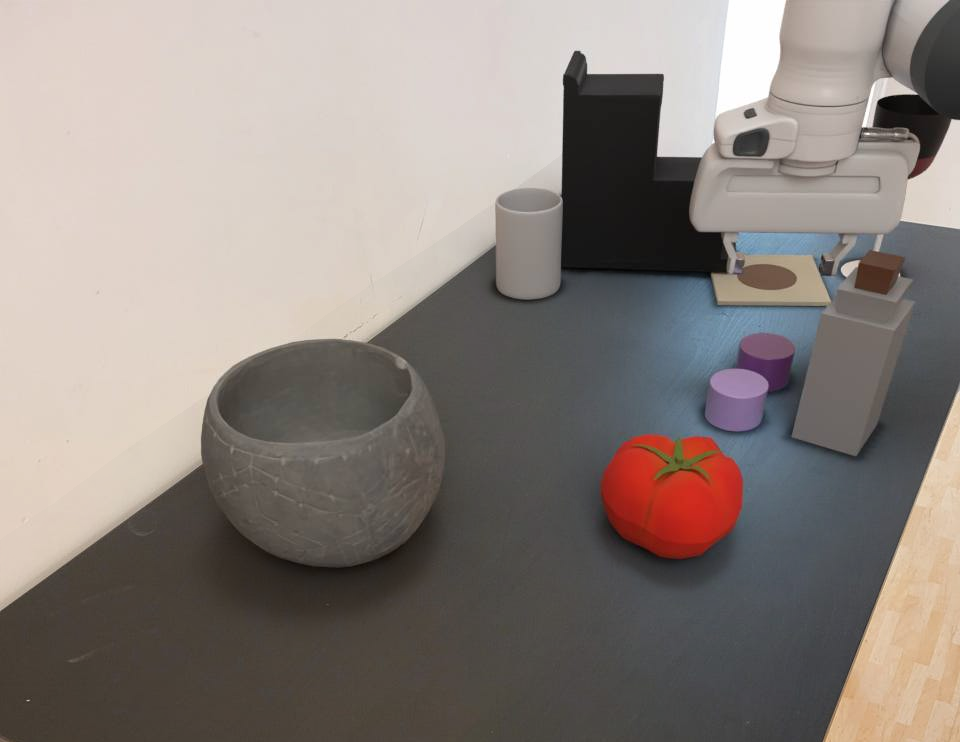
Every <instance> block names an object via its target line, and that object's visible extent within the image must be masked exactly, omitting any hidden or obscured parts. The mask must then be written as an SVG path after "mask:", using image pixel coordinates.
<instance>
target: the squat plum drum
mask: <svg viewBox="0 0 960 742" xmlns="http://www.w3.org/2000/svg"><path fill="white" fill-rule="evenodd" d="M796 350H797V349H796V345H795V343H794V342H793V341H792V340H791V339H789V338H787V337H785V336H782V335H781V334H780V335H779V334H776V333H768V332H759V333H758V332H757V333H752V334H748V335H746V336H744V337H743V338H742V339H741V340H740V342H739V344H738V349H737V351H738V352H737V356H736V362H735V366H734V369H745V370H750V371H753V372H756V373H758V374H760V375H762V376H763V377H764V378H765V379H766V380H767V381H768V384H769V388H768V393H772V392H777V391H780V390H782V389H784V388H786V386H787V385H788V383H789V381H790V376H791V371H792V368H793V364H794V363H793V362H794V358H795V354H796Z"/></svg>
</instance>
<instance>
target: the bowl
mask: <svg viewBox="0 0 960 742" xmlns="http://www.w3.org/2000/svg"><path fill="white" fill-rule="evenodd" d="M446 448H447V447H446V442H445V437H444V432H443V428H442V424H441V420H440V417H439V413H438V409H437V407H436V405H435V403H434V401H433V398H432V396H431V392H430V391H429V389H428V387H427V385H426V384H425V382H424V380H423V378H422V377H421V375H420V374H419V373H418V371H417V370H416V368H414V367H413V366H412V365H411V364H410V363H409V362H408V361H407V360H405V359H404V358H403V357H401V356H400V355H399V354H397V353H395V352H393V351H391V350H389V349H387V348H385V347H382V346H379V345H376V344H373V343H368V342H362V341H358V340H351V339H343V338H342V339H341V338H317V339H316V338H315V339H305V340H297V341H292V342H288V343H284V344H281V345H277V346H274V347H270V348H268V349H267V348H266V349H265V350H262V351H260V352H257V353H255V354H252V355H249V356H248V357H246V358H244V359H241V360H240V361H238V362H237V363H235V364H233V365H232V366H231V367H230V368H229V369H228V370H227V371H225V372H224V373H223V374H222V375H221V376H220V377H219V378H218V380H217V381H216V383H214V385H213V387H212V389H211V391H210V393H209V395H208V397H207V400H206V403H205V408H204V412H203V418H202V424H201V434H200V455H201V462H202V467H203V472H204V475H205V479H206V482H207V485H208V487H209V489H210V491H211V494H212V496H213V498H214V500H215V502H216V504H217V505H218V506H219V508H220V510H221V511H222V512H223V514H224V515H225V517H226V518H227V520H228V521H229V522H230V524H232V526H234V528H235V529H236V530H237V531H238V532H239V533H240V534H241V535H242V536H243V537H245V538H246V539H247V540H249V541H250V542H251V543H252V544H254V546H257V547H258V548H260V549H262V550H263V551H265V552H266V553H268V554H270V555H272V556H275V557H278V558H280V559H283V560H287V561H290V562H293V563H297V564H300V565H304V566H310V567H318V568H321V567H322V568H338V569H339V568H348V567H349V568H350V567H355V566H359V565H362V564H366V563H370V562H373V561H375V560H379V559H380V558H382V557H384V556H387V555H389V554H391V553H392V552H394V551H396V550H397V549H398V548H399V547H400V546H402V545H404V544H405V543H406V542H407V541H409V539H410V538H411V537H412V536H413V534H415V533H416V532H417V530H418V529H419V527H420V525H421V524H422V523H423V522H424V520H425V519H426V517H427V516H428V513H429V512H430V510H431V509H432V506H433V505H434V503H435V501H436V498H437V497H438V494H439V492H440V488H441V484H442V481H443V477H444V475H443V473H444V470H445V462H446V450H447V449H446Z"/></svg>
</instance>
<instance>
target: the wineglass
mask: <svg viewBox="0 0 960 742" xmlns="http://www.w3.org/2000/svg"><path fill="white" fill-rule="evenodd" d="M875 105H876V106H875V109H874V115H873V120H872V127H876V128H885V129H894V128H906V129H909V133H912V134H914V135H915V136H916V137H917V138H918V140H919V142H920V151H919V154H918V158H917V161H916V165H915V167H914V169H913V171H912V172H911V173H910V174H909V175H908V180H912V179H914V178H917V177H918V176H920V175H922V174H923V173H924V172H926V171H927V170H928V169H929V167H931V165H932V164H933V162H934V160H935V159H936V157H937V155H938V153H939V151H940V149H941V147H942V145H943V142H944V141H945V138H946V135H947V134H948V131H949V129H950V126H951V123H952V120H953V119H949V118H946V117H944V116H942V115H940V114H939V113H938V112H936V111H935V110H934V109H933V108H932V107H931V106H930V105H929V104H928V103H926V102H925V101H924V100H923V99H922V98H921V97H920V96H919V95H918V94H914V93H913V94H911V93H910V94H907V93H906V94H903V93H902V94H892V95H887V96H884V97H880V98H879V99H878V100H877V102H876V104H875ZM907 140H912V139H911V138H907ZM884 235H885V234H876V239H875V242H874V245H873V249H872V250H873V251H878V252H880V250H881V246H882V244H883V243H882V242H883V239H884ZM861 260H862V259H858V260H852V261H848V262H846V263H844V264H842V266H841V267H840V272H841V274H842V275H843V276H844V277H846V278H847V277H848V275H849V274H850V273H851V272H852V271H853V270H854V269H855V267H858V264H859V262H860V261H861ZM899 277H901V272H900V273H899Z"/></svg>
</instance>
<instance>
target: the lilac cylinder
mask: <svg viewBox="0 0 960 742" xmlns="http://www.w3.org/2000/svg"><path fill="white" fill-rule="evenodd" d="M768 388H769V384H768V381H767V380H766V379H765V378H764V377H763V376H762V375H760V374H758V373H756V372H753V371H750V370H745V369H735V368H727V369H722V370H719V371H717V372H715V373H714V374H712V376H711V377H710V379H709V383H708V390H707V394H706V395H707V396H706V403H705V408H704V417H705V419H706V421H707V422H708V423H709V424H710V425H711V426H713V427H715V428H717V429H720V430H724V431H728V432H746V431H750V430H754V429H755V428H756V427H758V426H759V425H760V424H761V423H762V420H763V417H764V416H763V415H764V410H765V405H766V401H767V398H768V393H769V392H768Z"/></svg>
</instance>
